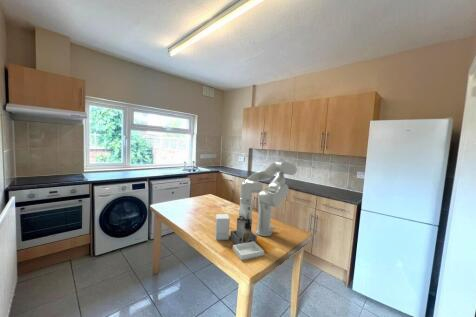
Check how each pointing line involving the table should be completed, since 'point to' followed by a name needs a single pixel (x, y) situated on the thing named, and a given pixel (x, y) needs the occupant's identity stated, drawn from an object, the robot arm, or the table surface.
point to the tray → (248, 250)
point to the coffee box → (243, 230)
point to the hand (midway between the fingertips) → (244, 225)
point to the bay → (236, 239)
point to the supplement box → (222, 227)
